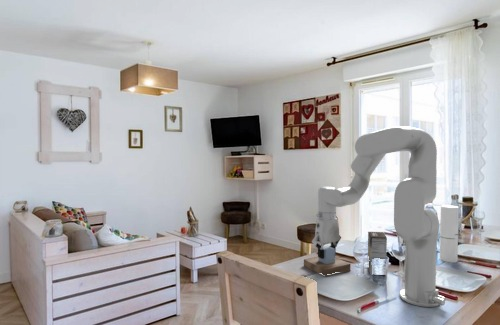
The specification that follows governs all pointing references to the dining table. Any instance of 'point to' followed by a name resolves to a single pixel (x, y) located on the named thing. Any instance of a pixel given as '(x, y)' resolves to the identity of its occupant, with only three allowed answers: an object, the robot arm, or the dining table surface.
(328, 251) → the slate block
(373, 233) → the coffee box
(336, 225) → the robot arm
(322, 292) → the dining table surface
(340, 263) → the walnut base
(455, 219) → the cylindrical container
